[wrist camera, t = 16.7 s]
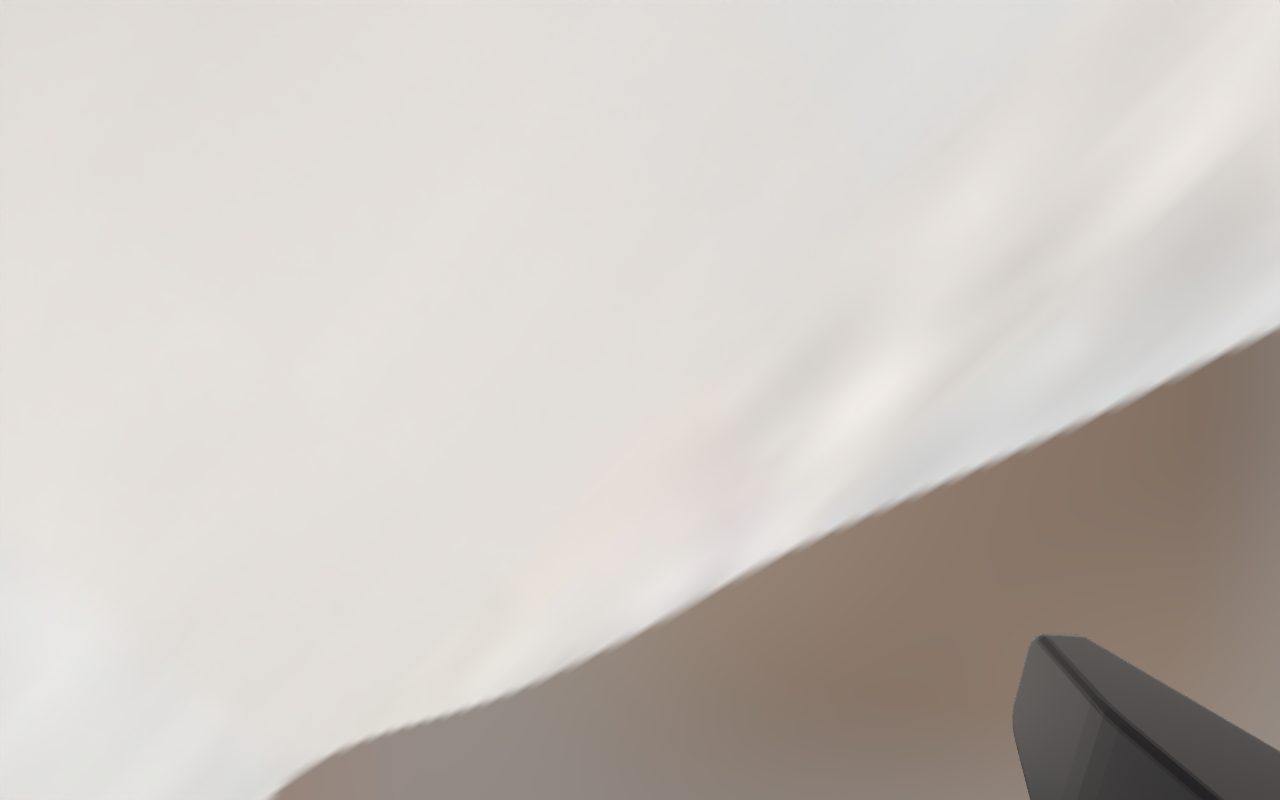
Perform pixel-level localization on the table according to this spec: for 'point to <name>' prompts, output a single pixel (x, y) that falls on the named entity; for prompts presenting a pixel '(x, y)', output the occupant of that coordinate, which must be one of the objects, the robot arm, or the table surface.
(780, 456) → the table surface
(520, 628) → the table surface
